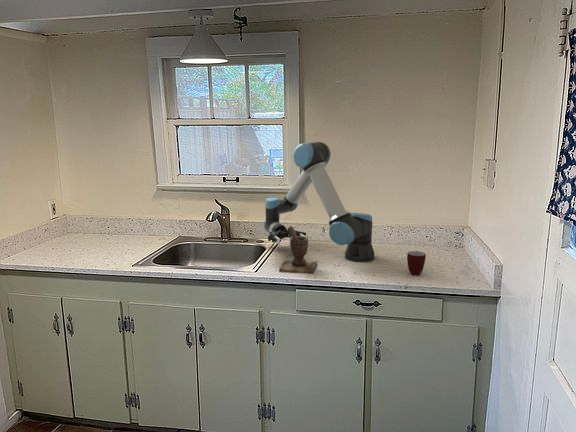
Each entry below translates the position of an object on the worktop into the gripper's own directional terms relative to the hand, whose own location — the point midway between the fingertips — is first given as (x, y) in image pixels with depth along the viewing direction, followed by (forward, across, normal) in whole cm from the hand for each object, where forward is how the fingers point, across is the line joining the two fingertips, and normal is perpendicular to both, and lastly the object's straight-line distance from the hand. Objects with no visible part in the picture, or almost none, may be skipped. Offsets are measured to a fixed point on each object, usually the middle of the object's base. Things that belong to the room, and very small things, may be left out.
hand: (292, 240), depth 233 cm
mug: (+34, -48, -12) cm, 59 cm away
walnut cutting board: (+7, 0, -12) cm, 14 cm away
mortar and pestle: (+7, 0, -11) cm, 13 cm away
